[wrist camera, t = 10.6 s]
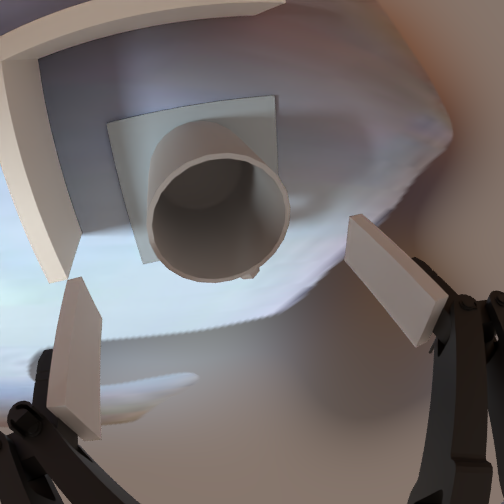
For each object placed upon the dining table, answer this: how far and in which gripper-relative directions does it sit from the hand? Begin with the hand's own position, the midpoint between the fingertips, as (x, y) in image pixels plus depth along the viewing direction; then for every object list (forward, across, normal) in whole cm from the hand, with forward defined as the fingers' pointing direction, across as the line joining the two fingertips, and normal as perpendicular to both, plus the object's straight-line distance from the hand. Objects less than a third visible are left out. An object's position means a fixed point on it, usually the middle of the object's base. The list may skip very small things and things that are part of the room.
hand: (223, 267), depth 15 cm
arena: (+11, -3, +6) cm, 13 cm away
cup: (+11, +1, 0) cm, 11 cm away
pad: (+11, +1, 0) cm, 11 cm away
